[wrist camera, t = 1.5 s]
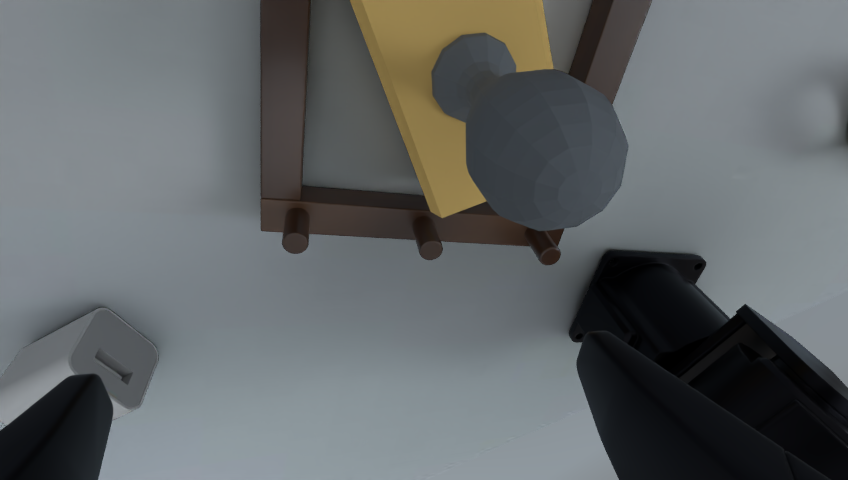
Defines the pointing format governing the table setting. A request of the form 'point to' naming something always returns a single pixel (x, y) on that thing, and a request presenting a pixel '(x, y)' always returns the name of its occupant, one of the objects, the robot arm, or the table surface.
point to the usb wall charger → (81, 364)
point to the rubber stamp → (493, 110)
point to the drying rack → (388, 212)
